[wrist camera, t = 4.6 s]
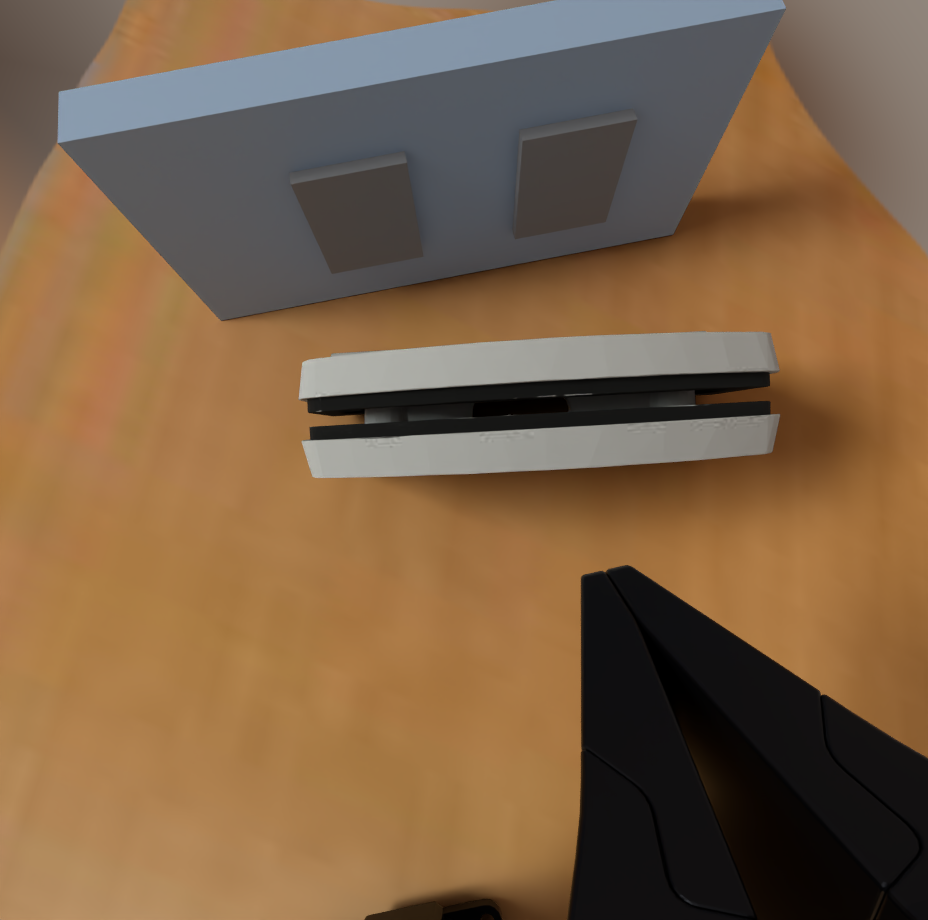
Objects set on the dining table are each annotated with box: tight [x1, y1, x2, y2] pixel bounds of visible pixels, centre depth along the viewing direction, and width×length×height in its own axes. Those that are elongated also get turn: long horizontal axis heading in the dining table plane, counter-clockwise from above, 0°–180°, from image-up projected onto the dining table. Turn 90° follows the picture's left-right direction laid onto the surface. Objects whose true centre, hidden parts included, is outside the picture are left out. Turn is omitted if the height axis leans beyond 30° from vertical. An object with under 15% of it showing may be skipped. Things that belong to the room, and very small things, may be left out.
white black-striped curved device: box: [299, 331, 780, 478], centre depth 19 cm, size 17×5×10 cm, turn 93°
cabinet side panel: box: [58, 0, 786, 321], centre depth 21 cm, size 2×22×10 cm, turn 101°
